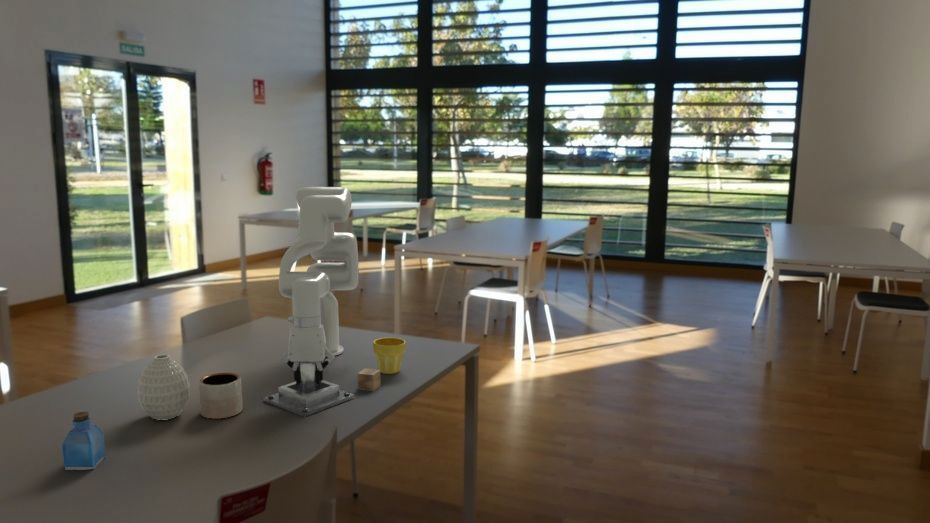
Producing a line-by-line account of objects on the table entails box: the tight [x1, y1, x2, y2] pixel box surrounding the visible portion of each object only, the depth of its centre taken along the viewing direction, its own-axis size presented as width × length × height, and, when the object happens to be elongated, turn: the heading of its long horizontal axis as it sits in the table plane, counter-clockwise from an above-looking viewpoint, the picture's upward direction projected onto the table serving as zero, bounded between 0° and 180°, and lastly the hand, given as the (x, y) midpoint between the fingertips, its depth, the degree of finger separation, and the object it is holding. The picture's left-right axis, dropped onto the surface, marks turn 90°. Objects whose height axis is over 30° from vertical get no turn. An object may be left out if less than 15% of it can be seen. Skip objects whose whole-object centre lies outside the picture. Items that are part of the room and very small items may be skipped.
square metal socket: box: [262, 379, 355, 418], centre depth 198 cm, size 18×18×4 cm
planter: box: [198, 372, 244, 420], centre depth 188 cm, size 11×11×10 cm
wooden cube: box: [357, 367, 381, 392], centre depth 208 cm, size 5×5×5 cm
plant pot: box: [372, 336, 407, 375], centre depth 223 cm, size 10×10×10 cm
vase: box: [136, 353, 191, 420], centre depth 184 cm, size 13×13×17 cm
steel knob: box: [299, 360, 318, 394], centre depth 197 cm, size 6×6×10 cm
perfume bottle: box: [61, 411, 106, 468], centre depth 157 cm, size 6×6×12 cm
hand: (308, 382), depth 197 cm, fingers open, 5 cm apart
